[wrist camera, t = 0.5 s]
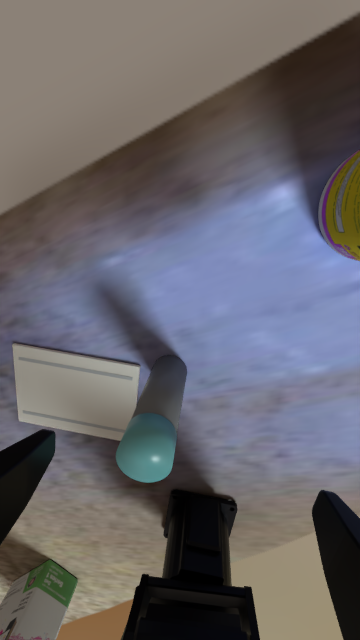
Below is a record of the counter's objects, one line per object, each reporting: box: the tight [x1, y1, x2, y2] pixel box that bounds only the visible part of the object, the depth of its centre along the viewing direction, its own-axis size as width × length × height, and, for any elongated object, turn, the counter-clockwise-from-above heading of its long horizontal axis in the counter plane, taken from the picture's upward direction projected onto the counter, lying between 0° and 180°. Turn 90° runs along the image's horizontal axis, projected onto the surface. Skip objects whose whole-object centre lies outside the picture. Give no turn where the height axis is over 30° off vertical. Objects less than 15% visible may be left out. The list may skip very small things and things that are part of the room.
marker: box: [116, 355, 187, 483], centre depth 17 cm, size 3×3×9 cm
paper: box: [12, 343, 140, 441], centre depth 23 cm, size 8×11×1 cm
